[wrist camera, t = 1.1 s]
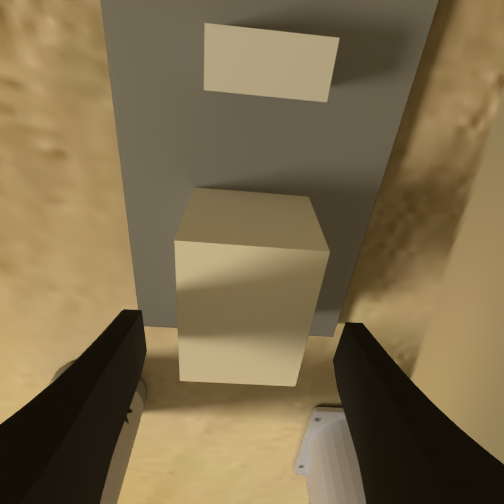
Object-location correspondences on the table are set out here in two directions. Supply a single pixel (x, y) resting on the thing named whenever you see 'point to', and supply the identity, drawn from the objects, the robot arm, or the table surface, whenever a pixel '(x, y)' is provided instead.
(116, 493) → the travel mug
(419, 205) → the table surface
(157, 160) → the board
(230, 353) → the cream rectangular block
